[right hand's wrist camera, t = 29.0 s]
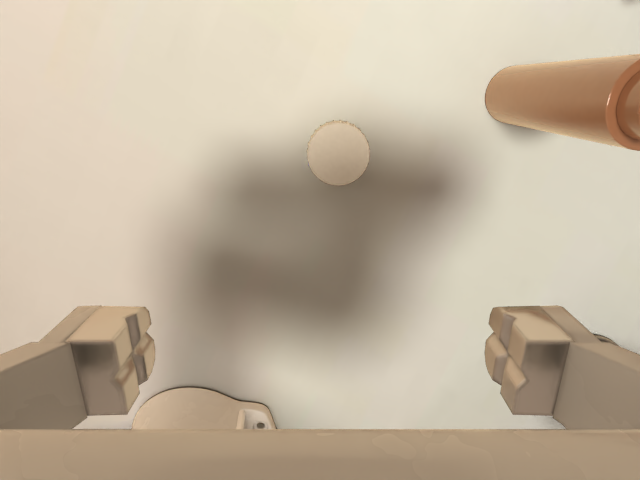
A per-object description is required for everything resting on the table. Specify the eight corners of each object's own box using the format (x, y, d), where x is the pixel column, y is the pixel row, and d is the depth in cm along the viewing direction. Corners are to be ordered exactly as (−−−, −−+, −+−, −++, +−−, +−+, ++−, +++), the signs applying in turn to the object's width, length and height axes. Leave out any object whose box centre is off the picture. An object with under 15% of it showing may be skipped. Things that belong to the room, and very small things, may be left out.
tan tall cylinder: (505, 55, 35) (684, 27, 18) (551, 81, 36) (766, 78, 19) (474, 108, 37) (613, 130, 19) (519, 132, 37) (692, 174, 20)
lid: (360, 185, 39) (362, 191, 37) (302, 174, 39) (301, 180, 37) (373, 126, 37) (377, 128, 35) (313, 114, 37) (312, 116, 35)
